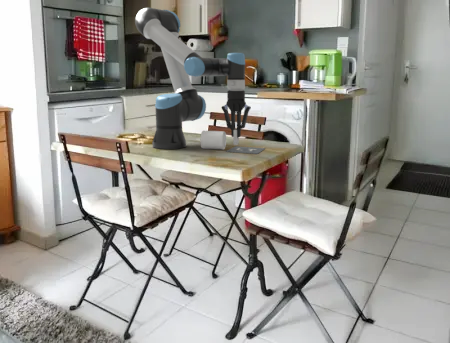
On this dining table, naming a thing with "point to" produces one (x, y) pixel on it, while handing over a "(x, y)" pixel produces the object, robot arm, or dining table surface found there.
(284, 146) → the dining table surface
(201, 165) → the dining table surface
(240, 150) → the tile
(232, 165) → the dining table surface
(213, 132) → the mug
